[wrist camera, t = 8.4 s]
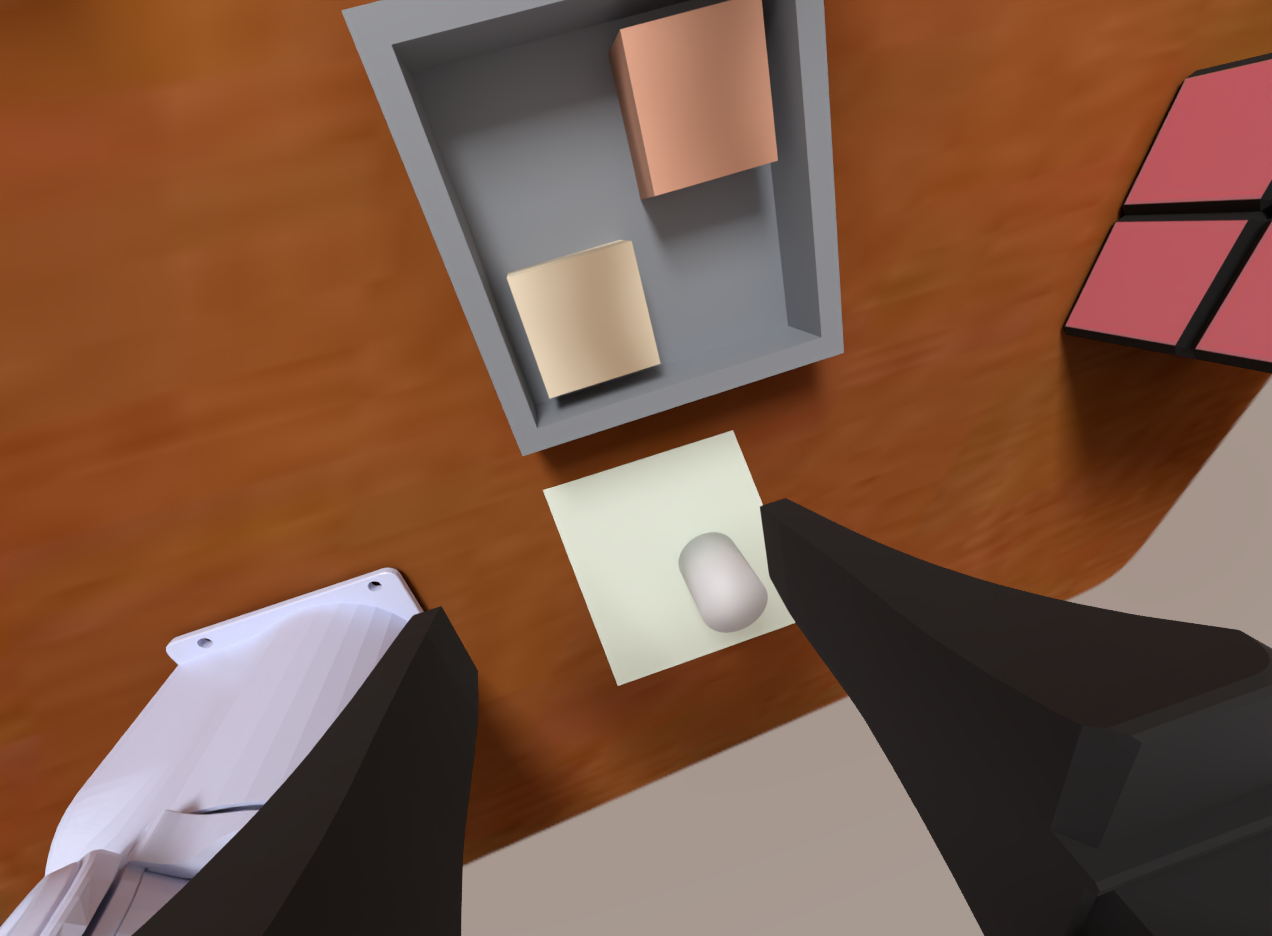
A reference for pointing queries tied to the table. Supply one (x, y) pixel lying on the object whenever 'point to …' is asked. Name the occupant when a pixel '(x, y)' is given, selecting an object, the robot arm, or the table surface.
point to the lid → (670, 555)
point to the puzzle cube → (1195, 230)
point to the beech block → (585, 317)
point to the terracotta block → (695, 95)
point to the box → (608, 196)
